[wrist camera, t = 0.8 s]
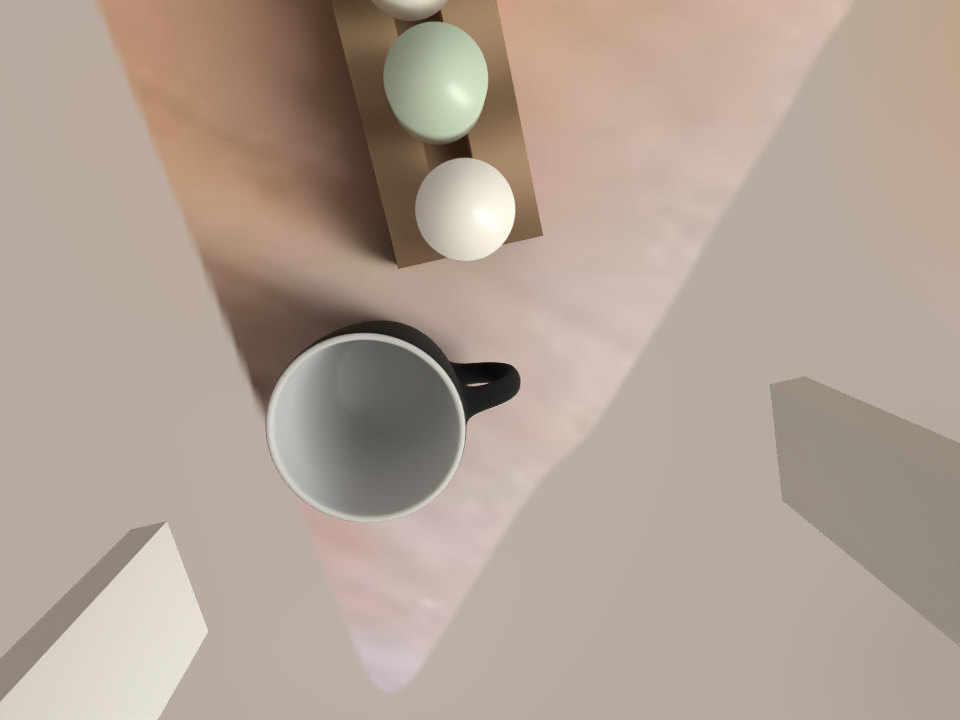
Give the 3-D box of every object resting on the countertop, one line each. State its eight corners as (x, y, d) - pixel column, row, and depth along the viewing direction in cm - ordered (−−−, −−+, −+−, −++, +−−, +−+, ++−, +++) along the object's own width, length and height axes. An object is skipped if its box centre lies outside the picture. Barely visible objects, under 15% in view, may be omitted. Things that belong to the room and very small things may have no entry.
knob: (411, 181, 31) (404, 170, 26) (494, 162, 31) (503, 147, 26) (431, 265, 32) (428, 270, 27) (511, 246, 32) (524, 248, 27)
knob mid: (385, 70, 30) (371, 34, 25) (470, 50, 30) (475, 10, 25) (406, 160, 31) (397, 144, 26) (489, 141, 31) (498, 121, 26)
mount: (333, -10, 32) (322, -35, 29) (479, -43, 32) (482, -71, 29) (402, 266, 35) (398, 268, 32) (534, 235, 35) (542, 235, 32)
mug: (331, 460, 37) (289, 540, 27) (299, 319, 36) (241, 351, 26) (520, 426, 38) (546, 493, 28) (497, 285, 36) (517, 303, 26)
